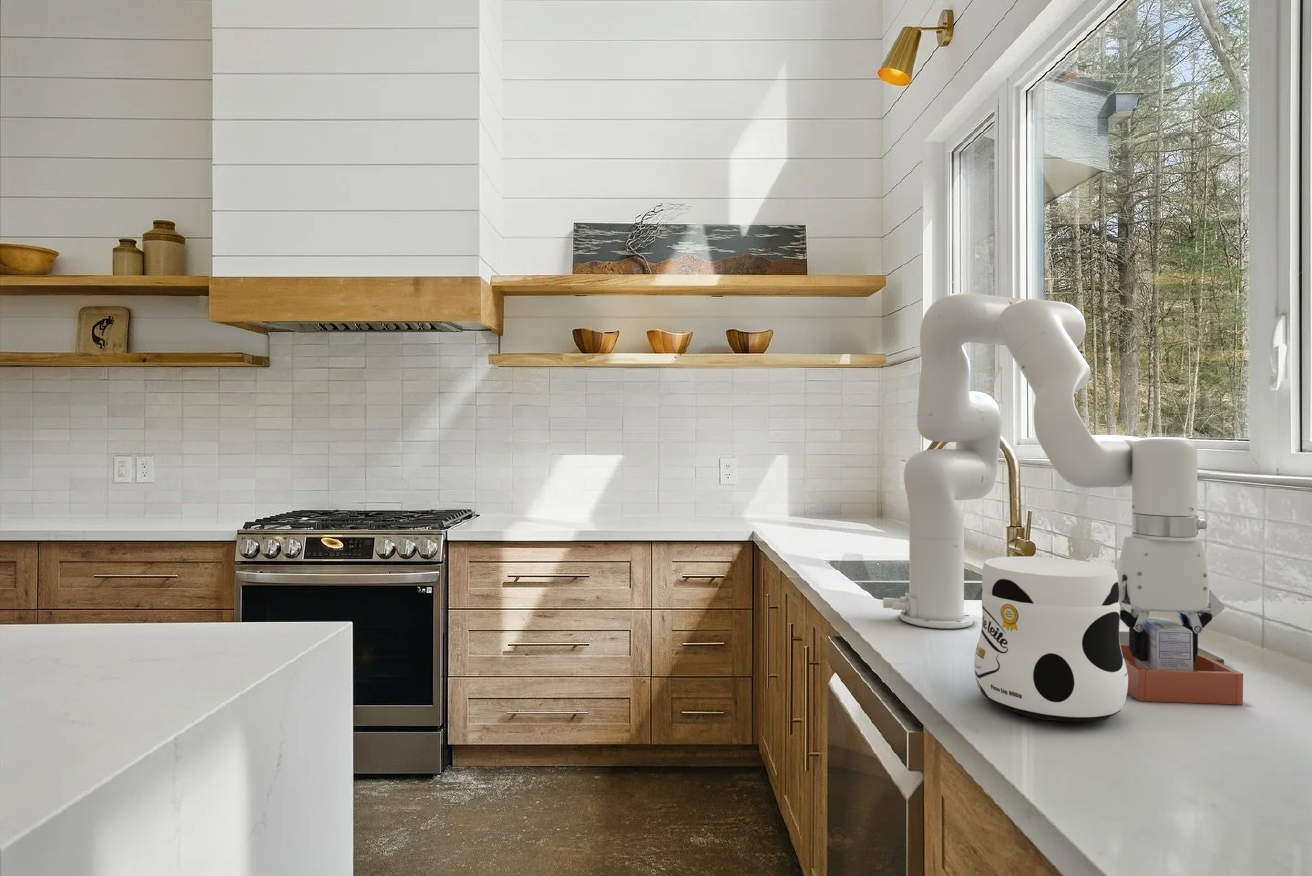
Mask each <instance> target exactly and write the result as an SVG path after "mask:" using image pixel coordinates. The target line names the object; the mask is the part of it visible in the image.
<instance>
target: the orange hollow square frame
mask: <svg viewBox="0 0 1312 876" xmlns="http://www.w3.org/2000/svg"><path fill="white" fill-rule="evenodd" d="M1120 646H1121V650H1122V654H1123V657H1124V661H1125V664H1126V668H1127V672H1128V689H1127V695H1130V697H1132V698H1133V699H1135V700H1137V701H1139V702H1158V703H1161V702H1162V703H1182V704H1183V703H1187V704H1189V703H1190V704H1211V705H1213V704H1215V705H1237V706H1243V705H1244V674H1243V673H1242V672H1241V671H1238V670H1236V669H1234V668H1232V667H1231V666H1228V665H1226V664H1225V663H1224V664H1222V663H1220V662H1218V661H1216V660H1214V659H1211V658H1209V657H1207V656H1205V655H1203V654H1201V653H1199V652H1198V654H1197V655H1196V662H1195V663H1193V671H1191V670H1161V669H1141V668H1140V667H1138V666H1136V665H1135V657H1134V656H1132V652H1130V650H1129V644H1120Z"/></svg>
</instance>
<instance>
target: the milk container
mask: <svg viewBox="0 0 1312 876" xmlns="http://www.w3.org/2000/svg"><path fill="white" fill-rule="evenodd" d="M981 573H982V574H981V589H982V593H981V614H982V615H981V616H982V618H981V619H982V620H981V621H982V622H981V631H980V634H979V638H978V642H977V645H976V648H975V652H974V658H973V659H974V660H973V664H974V665H973V667H974V675H975V681H976V685H977V687H978V690H979V691H980V693H981V694H982V695H983V697H985V698H986V699H987V700H988V701H990V702H991V703H993V704H995V705H997V706H998V707H1000V708H1002V709H1005V710H1007V711H1010V712H1013V713H1016V714H1019V715H1023V716H1026V717H1032V718H1036V719H1040V720H1044V721H1045V720H1046V721H1056V722H1063V723H1076V722H1077V723H1090V722H1097V721H1102V720H1103V721H1104V720H1108V719H1109V718H1111V717H1113V716H1116V715H1117V714H1118V713H1120V712H1121V710H1122V709H1123V708H1124V706H1125V703H1126V699H1127V696H1128V693H1127V689H1128V672H1127V668H1126V664H1125V661H1124V657H1123V654H1122V650H1121V646H1120V638H1119V631H1120V624H1121V623H1120V622H1121V619H1120V604H1119V584H1118V570H1117V568H1115V567H1113V566H1110V565H1107V564H1101V563H1098V562H1094V561H1086V560H1079V559H1072V558H1062V557H1052V556H1030V555H1029V556H1023V555H1022V556H1020V555H1019V556H1013V555H1012V556H998V557H997V556H996V557H993V558H987V559H986V560H985V561H984V562H983V565H982V572H981Z"/></svg>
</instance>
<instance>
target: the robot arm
mask: <svg viewBox="0 0 1312 876" xmlns="http://www.w3.org/2000/svg"><path fill="white" fill-rule="evenodd" d="M1086 331H1087V325H1086V321H1085V318H1084V316H1083V314H1082V313H1081V311H1080V310H1079V309H1078V308H1077V307H1075V306H1074V305H1072V304H1071V303H1067V302H1064V301H1055V300H1046V299H1036V298H1027V299H1025V298H1017V297H1010V296H1009V297H1008V296H1001V295H992V294H991V295H990V294H985V293H974V292H956V293H950V294H947V295H943V296H942V297H939V298H938V299H936V300H935V301H934V302H933V303H932V304H931V305H929V307H928V309H927V310H926V311H925V313H924V316H923V318H922V321H921V324H920V329H919V348H920V363H921V364H920V377H919V386H918V400H917V412H916V413H917V414H916V425H917V430H918V432H919V434H920V435H921V436H922V437H923V438H924V439H925V440H928V441H930V442H936V443H937V442H938V443H955V448H954V449H952V448H934V449H933V448H932V449H925V450H921V451H919V452H916V453H915V454H913V455H912V456H911V457H909V459H908V460H907V462H906V464H905V466H904V470H903V484H904V489H905V493H906V494H905V495H906V499H907V505H908V506H907V507H908V526H909V527H908V532H909V533H908V535H909V541H908V542H909V544H908V545H909V547H908V549H909V551H908V553H909V555H908V559H909V561H908V565H909V566H908V573H909V574H908V592H905V593H904V596H900V597H899V598H895V597H883V598H882V608H883V609H891V610H893V611H899V610H900V619H901V620H902V621H903V622H905V623H908V624H911V625H914V626H918V627H923V628H932V629H947V630H948V629H963V628H964V629H965V628H968V627H971V626H973V624H974V617H973V616H972V615H971V614H970V613H968V612H965V524H964V520H963V516H962V514H961V512H960V509H959V507H958V505H957V502H956V501H969V500H978V499H982V498H984V497H986V496H987V495H989V493H990V492H991V491H992V490H993V488H994V486H995V483H996V480H997V476H998V469H999V457H1000V448H1001V438H1002V422H1003V421H1002V414H1001V411H1000V408H999V405H998V403H997V402H996V400H995V399H994V398H993V397H992V396H991V395H989V394H988V393H985V392H981V391H976V390H975V391H974V390H970V379H971V364H970V363H971V362H970V359H969V356H968V354H967V351H966V350H965V348H964V346H963V345H964V344H966V343H971V344H972V343H973V344H984V345H995V346H997V345H998V346H1006V348H1007V350H1008V352H1009V353H1010V355H1011V357H1012V358H1013V360H1014V362H1016V365H1017V366H1018V368H1019V370H1020V372H1021V373H1022V375H1023V376H1024V379H1026V382H1027V383H1028V385H1029V386H1030V387H1029V388H1031V390H1032V392H1033V393H1034V397H1035V401H1034V406H1033V426H1034V432H1035V435H1036V438H1037V441H1038V442H1039V445H1040V446H1041V449H1042V450H1043V452H1044V453H1045V455H1046V457H1047V459H1048V460H1049V462H1050V463H1051V465H1052V467H1053V468H1054V470H1055V472H1057V474H1059V476H1060V477H1061V478H1062V479H1063V480H1064V481H1065V482H1067V483H1069V484H1070V485H1072V486H1074V487H1078V488H1082V489H1086V488H1087V489H1093V488H1095V489H1096V488H1124V487H1125V488H1126V487H1131V512H1132V513H1131V534H1125V535H1124V539H1123V543H1122V546H1121V552H1120V556H1119V563H1118V570H1117V575H1118V584H1119V604H1120V621H1122V622H1123V623H1124V624H1125V626H1126V627H1128V632H1129V650H1130V652H1132V656H1134V657H1135V658H1137V659H1139V660H1140V661H1147V660H1148V633H1147V632H1145V631H1144V627H1145V624H1146V621H1147V618H1148V617H1150V616H1149V615H1150V613H1151V612H1167V613H1168V612H1171V613H1177V614H1178V617H1179V619H1180V623H1181V625H1182V626H1184V627H1185V628H1187V629H1189V630H1191V631H1192V633H1193V663H1195V662H1196V655H1197V654H1198V648H1199V634H1201V633H1203V629H1204V628H1205V627H1206V626H1207V625H1208V624H1209V623H1210V622H1212V620H1213V618H1215V617H1216V616H1218V615H1219V614H1220V613H1222V612H1223V611H1224V610H1225V605H1224V604H1223V603H1222V602H1221V601H1220V599H1219V598H1218V597H1217V596H1216V594H1214V593H1213V591H1212V590H1210V581H1209V579H1210V577H1209V570H1208V561H1207V558H1206V550H1205V547H1204V543H1203V540H1202V538H1200V537H1198V536H1199V531H1200V530H1206V529H1207V528H1208V523H1207V520H1206V519H1200V518H1199V515H1198V448H1197V445H1196V443H1195V442H1194V441H1193V440H1192V439H1190V438H1186V437H1173V436H1171V437H1167V436H1165V437H1163V436H1159V437H1157V436H1155V437H1137V436H1130V435H1109V434H1108V435H1107V434H1104V435H1103V434H1092V433H1091V432H1090V430H1089V428H1088V427H1087V425H1086V424H1085V422H1084V421H1083V419H1082V417H1081V416H1080V414H1079V412H1078V409H1077V407H1076V403H1075V394H1076V393H1077V392H1079V391H1080V390H1081V389H1083V388H1084V386H1085V385H1086V384H1087V383H1088V382H1089V380H1090V379H1091V374H1092V372H1091V371H1092V370H1091V368H1090V366H1089V364H1088V363H1087V361H1086V359H1085V358H1084V357H1083V356H1082V354H1081V352H1080V350H1079V349H1078V347H1079V346H1080V345H1081V344H1082V342H1083V341H1084V339H1085V337H1086ZM1122 604H1125V605H1128V606H1130V607H1129V610H1126V609H1125V607H1123V605H1122Z"/></svg>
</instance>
